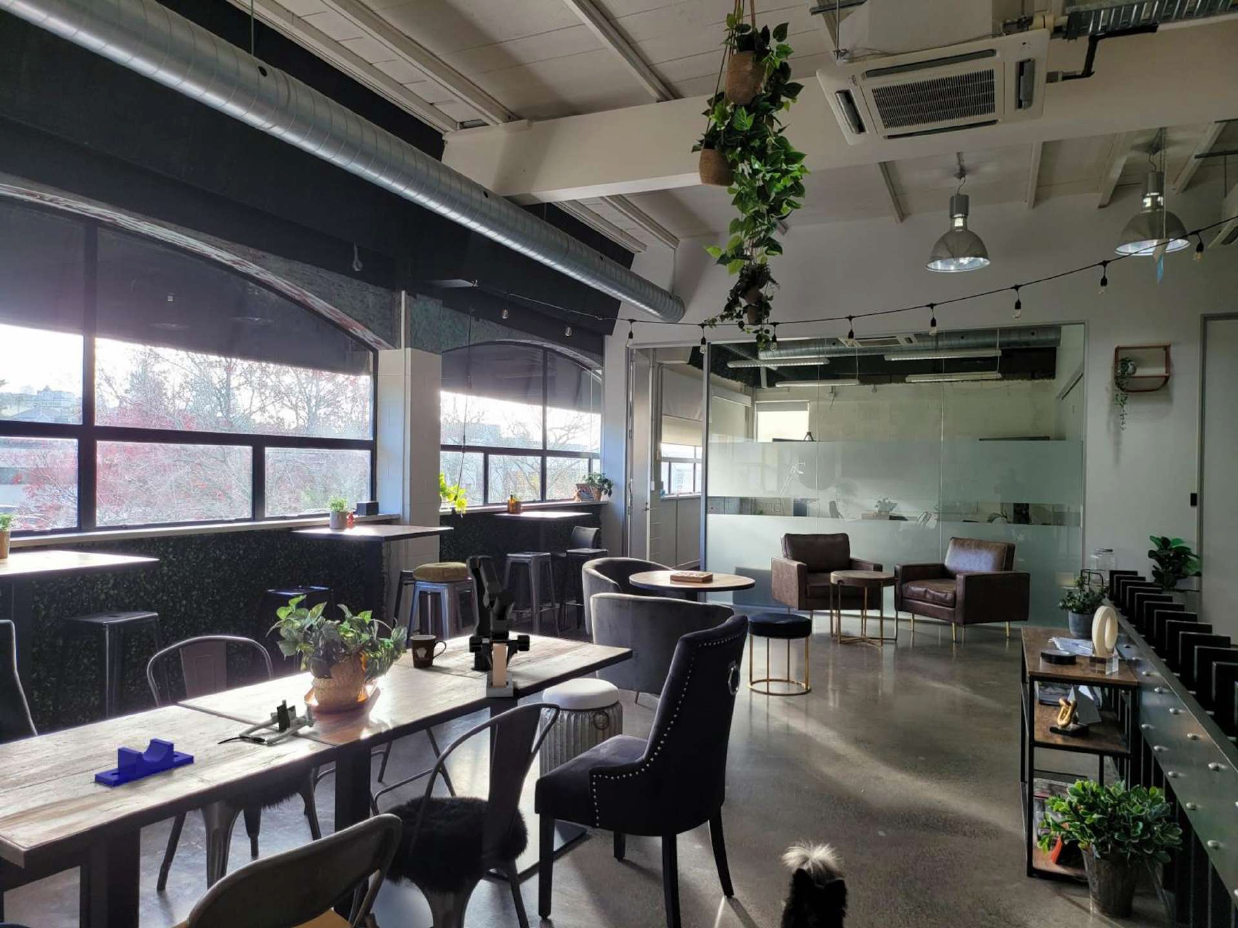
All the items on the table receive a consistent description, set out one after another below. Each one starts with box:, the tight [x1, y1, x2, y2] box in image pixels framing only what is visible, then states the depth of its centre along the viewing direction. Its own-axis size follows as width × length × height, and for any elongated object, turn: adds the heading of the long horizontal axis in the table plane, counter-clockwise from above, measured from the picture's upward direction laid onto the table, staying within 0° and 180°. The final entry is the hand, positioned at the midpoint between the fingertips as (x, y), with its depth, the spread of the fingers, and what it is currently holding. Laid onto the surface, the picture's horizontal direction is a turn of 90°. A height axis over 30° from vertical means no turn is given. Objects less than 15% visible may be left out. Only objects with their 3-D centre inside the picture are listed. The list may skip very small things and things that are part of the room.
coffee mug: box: [410, 634, 447, 669], centre depth 288 cm, size 12×9×10 cm
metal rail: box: [485, 672, 514, 698], centre depth 258 cm, size 20×8×2 cm, turn 8°
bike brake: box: [217, 699, 317, 746], centre depth 209 cm, size 14×7×20 cm
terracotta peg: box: [492, 643, 507, 686], centre depth 254 cm, size 4×4×14 cm
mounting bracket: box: [94, 738, 195, 788], centre depth 185 cm, size 18×7×6 cm, turn 150°
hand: (499, 667), depth 253 cm, fingers closed on terracotta peg, 4 cm apart
